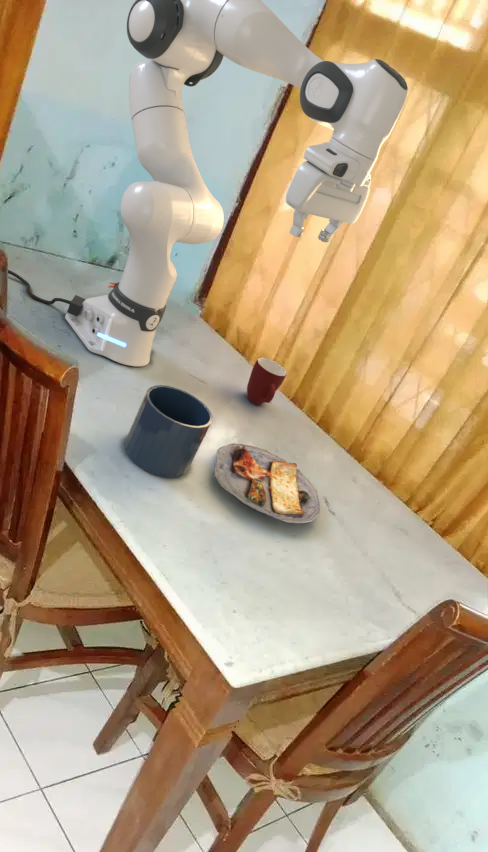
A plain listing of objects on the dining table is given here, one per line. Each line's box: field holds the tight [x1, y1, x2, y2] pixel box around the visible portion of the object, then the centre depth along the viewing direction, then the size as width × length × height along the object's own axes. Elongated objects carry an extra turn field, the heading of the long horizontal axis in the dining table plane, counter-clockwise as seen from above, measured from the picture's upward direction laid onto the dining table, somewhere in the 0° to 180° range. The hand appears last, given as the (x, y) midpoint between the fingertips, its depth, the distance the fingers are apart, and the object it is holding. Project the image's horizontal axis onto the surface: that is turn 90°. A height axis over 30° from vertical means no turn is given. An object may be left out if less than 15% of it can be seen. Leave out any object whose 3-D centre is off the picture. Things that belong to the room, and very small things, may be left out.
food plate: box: [213, 442, 321, 524], centre depth 147 cm, size 25×23×4 cm
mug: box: [246, 356, 288, 406], centre depth 177 cm, size 10×8×10 cm
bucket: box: [123, 384, 214, 479], centre depth 137 cm, size 13×13×12 cm
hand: (308, 238), depth 134 cm, fingers open, 8 cm apart
